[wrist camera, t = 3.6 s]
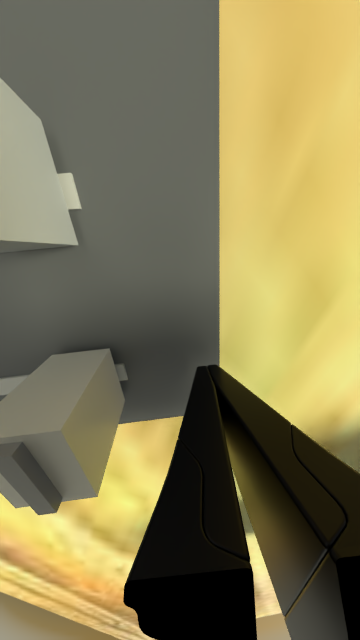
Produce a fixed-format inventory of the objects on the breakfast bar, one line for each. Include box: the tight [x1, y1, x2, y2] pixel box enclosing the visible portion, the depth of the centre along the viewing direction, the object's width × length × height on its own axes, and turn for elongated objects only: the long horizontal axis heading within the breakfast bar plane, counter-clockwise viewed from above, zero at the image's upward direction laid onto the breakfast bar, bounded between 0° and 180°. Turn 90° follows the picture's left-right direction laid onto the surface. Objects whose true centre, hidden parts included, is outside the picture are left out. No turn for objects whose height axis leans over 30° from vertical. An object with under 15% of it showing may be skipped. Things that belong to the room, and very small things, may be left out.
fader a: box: [0, 348, 125, 515], centre depth 6 cm, size 2×3×4 cm
